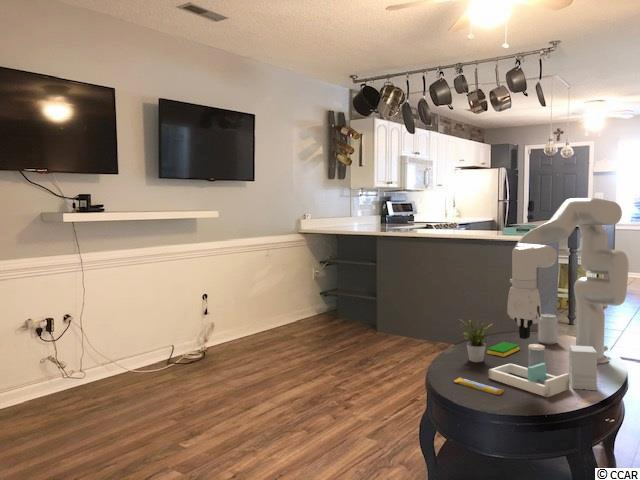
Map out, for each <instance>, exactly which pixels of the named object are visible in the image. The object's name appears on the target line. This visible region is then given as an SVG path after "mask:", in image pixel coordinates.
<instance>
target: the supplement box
mask: <svg viewBox="0 0 640 480" xmlns="http://www.w3.org/2000/svg"><path fill="white" fill-rule="evenodd" d="M568 351H569V353H568V354H569V356H568V357H569V361H568V363H569V367H568V374H569V385H570V386H571V389H573V390H583V389H585V390H584V391H597V387H598V386H597V385H598V384H597V383H598V378H597V377H598V364H597V352H596V351H595V349H594V348H593V347H592V346H576V345H575V344H574V345H571V344H570V345H569V350H568Z"/></svg>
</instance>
